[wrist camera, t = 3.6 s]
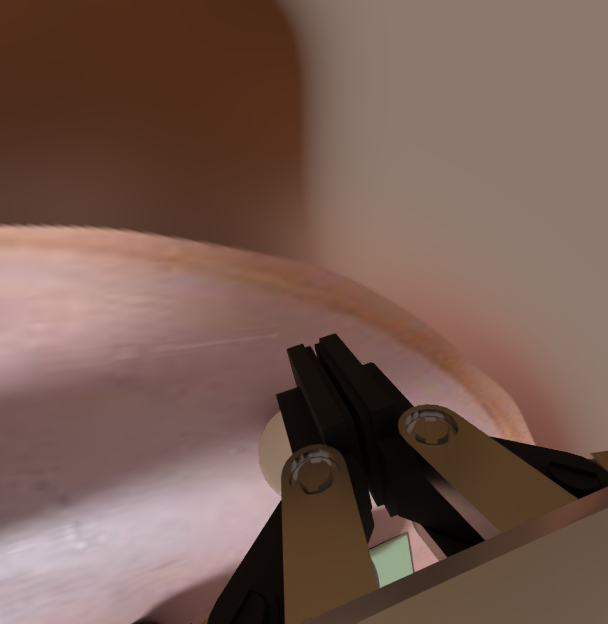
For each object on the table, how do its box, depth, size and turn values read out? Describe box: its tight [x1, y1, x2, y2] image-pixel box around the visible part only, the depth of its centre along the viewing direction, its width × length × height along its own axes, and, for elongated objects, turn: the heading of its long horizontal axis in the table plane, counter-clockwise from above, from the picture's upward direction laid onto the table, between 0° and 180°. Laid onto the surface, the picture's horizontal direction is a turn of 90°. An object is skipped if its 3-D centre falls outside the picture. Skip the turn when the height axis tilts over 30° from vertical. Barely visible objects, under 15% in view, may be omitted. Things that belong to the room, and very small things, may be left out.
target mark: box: [369, 533, 413, 588], centre depth 31 cm, size 14×14×1 cm
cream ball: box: [258, 411, 292, 496], centre depth 20 cm, size 6×6×6 cm
